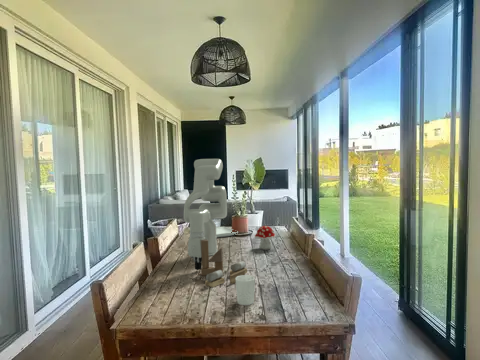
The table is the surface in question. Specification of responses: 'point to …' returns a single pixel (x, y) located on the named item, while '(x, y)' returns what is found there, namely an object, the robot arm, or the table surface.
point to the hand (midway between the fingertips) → (198, 269)
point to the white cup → (245, 289)
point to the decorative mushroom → (265, 237)
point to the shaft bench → (216, 276)
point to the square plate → (224, 232)
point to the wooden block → (205, 259)
